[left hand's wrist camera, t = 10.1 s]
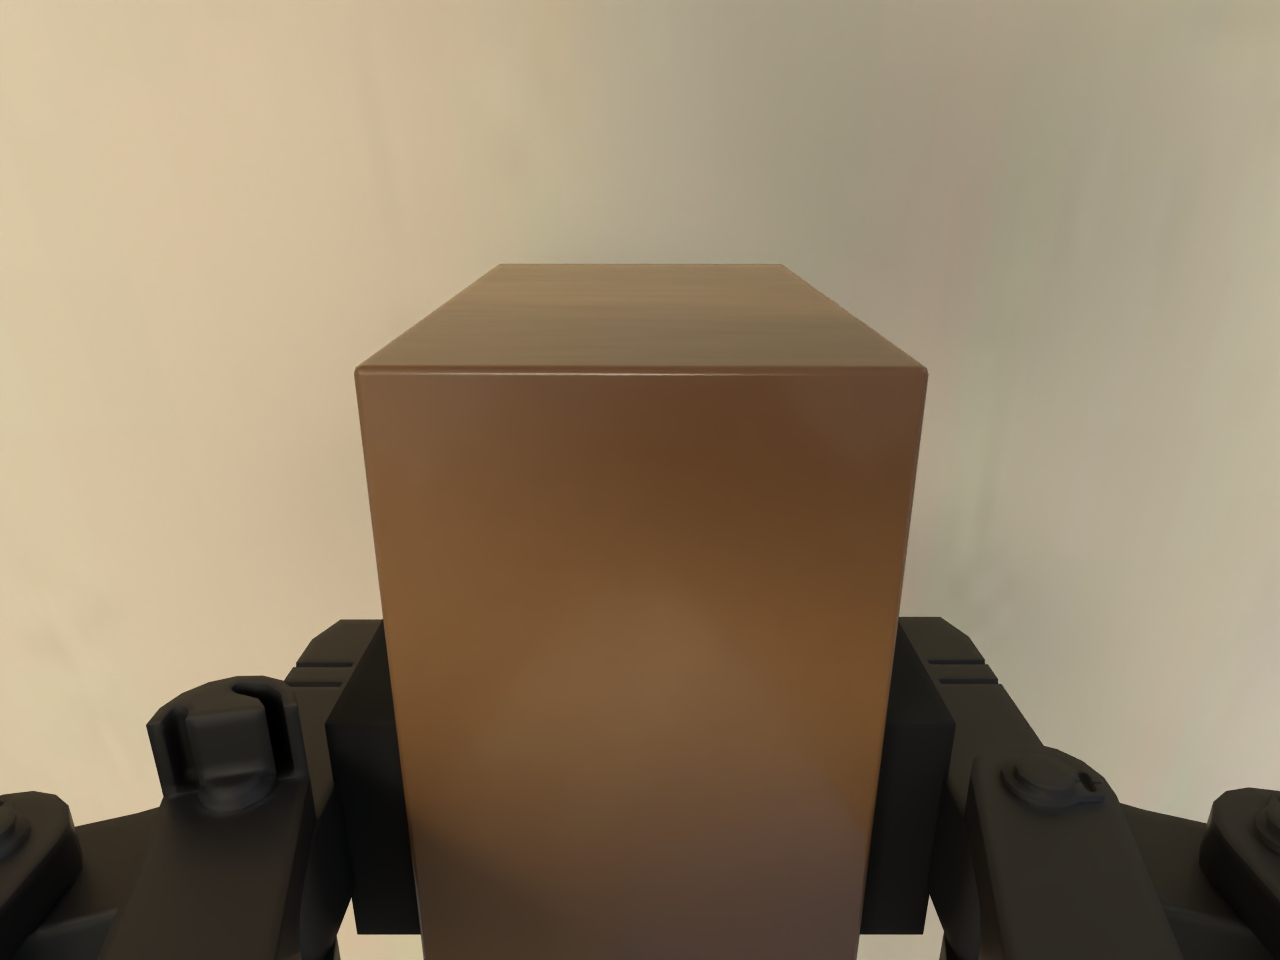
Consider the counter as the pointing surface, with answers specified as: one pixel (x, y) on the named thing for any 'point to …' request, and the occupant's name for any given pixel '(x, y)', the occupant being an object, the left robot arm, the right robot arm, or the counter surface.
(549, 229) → the counter surface
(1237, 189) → the counter surface
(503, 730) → the post
